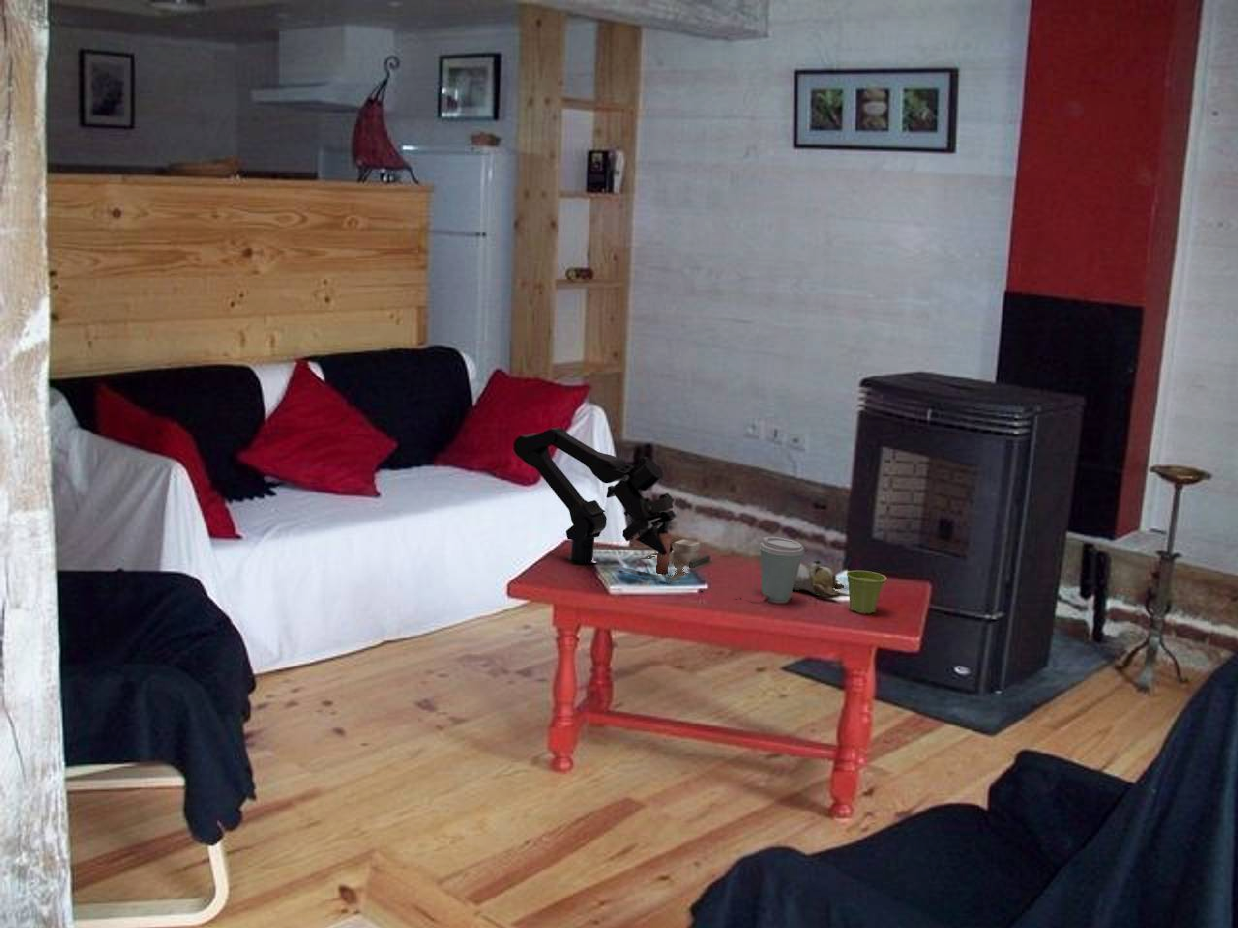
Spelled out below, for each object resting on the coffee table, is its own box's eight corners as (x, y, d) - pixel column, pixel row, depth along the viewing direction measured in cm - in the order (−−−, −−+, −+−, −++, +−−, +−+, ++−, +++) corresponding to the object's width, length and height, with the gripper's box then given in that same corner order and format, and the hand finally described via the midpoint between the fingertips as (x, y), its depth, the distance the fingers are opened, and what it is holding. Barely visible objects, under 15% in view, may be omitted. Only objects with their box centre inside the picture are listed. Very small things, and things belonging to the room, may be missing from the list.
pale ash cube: (672, 561, 369) (674, 542, 368) (681, 557, 373) (683, 539, 372) (689, 565, 367) (691, 546, 366) (698, 561, 371) (700, 542, 370)
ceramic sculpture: (800, 550, 362) (856, 564, 355) (795, 582, 364) (850, 597, 357) (784, 558, 352) (841, 573, 346) (779, 591, 354) (835, 607, 348)
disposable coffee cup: (785, 593, 353) (791, 534, 350) (806, 606, 343) (813, 545, 341) (747, 594, 349) (753, 534, 347) (767, 607, 340) (773, 546, 337)
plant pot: (840, 603, 348) (844, 568, 347) (879, 606, 348) (883, 572, 347) (845, 614, 339) (849, 578, 338) (884, 617, 339) (888, 582, 337)
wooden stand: (617, 571, 359) (620, 528, 357) (661, 554, 380) (665, 513, 378) (673, 584, 352) (677, 540, 350) (715, 566, 373) (719, 524, 371)
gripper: (637, 488, 346) (673, 541, 343) (672, 478, 362) (707, 528, 359) (606, 514, 351) (642, 566, 348) (642, 503, 368) (677, 553, 364)
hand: (668, 552), depth 355 cm, fingers closed on wooden stand, 3 cm apart
